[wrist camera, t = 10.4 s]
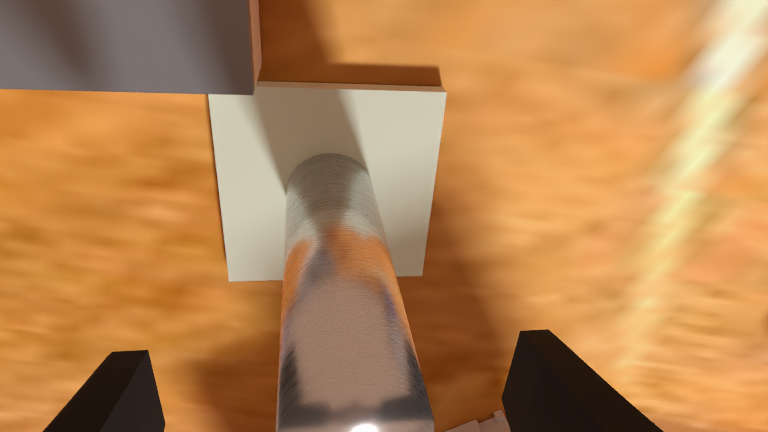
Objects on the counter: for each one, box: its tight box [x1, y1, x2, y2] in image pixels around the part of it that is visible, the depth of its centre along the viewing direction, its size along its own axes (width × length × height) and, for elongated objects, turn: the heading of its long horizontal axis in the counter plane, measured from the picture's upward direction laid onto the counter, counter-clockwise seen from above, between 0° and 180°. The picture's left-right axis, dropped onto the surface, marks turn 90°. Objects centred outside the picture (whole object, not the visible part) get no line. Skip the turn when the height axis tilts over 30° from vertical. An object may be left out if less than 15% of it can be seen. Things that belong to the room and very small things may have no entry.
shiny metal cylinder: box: [276, 153, 434, 432], centre depth 13 cm, size 3×3×9 cm
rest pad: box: [208, 81, 447, 282], centre depth 17 cm, size 7×7×1 cm
